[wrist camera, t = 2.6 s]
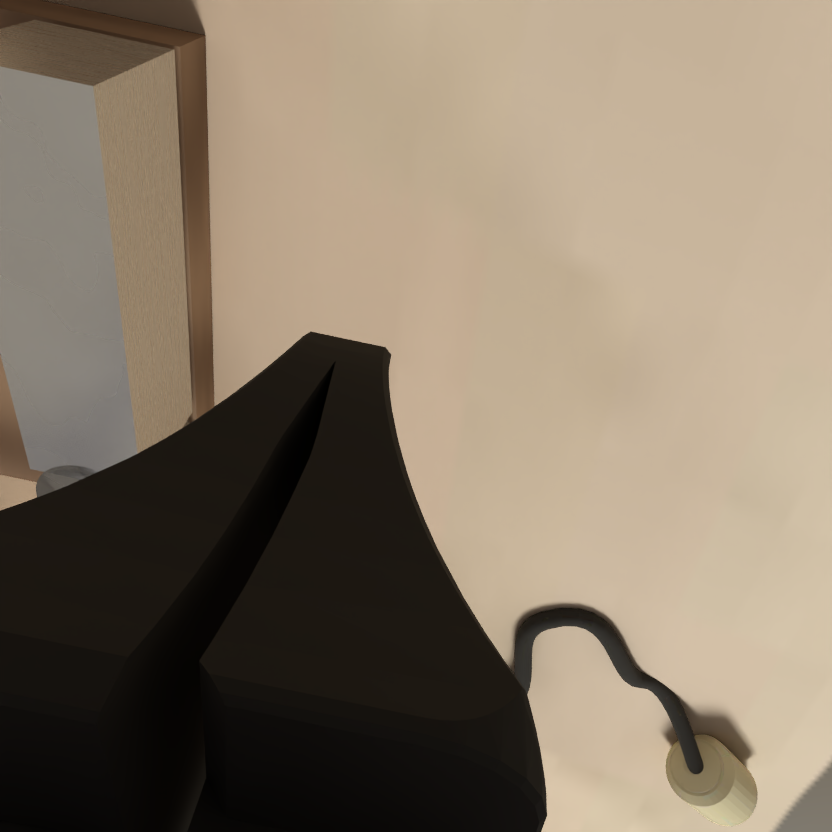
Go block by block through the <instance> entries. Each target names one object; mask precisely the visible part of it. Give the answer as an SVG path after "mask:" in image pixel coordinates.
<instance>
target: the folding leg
mask: <svg viewBox="0 0 832 832" xmlns="http://www.w3.org/2000/svg"><path fill="white" fill-rule="evenodd" d="M0 355H1V359H2V363H3V367H4V370H5V374H6V378H7V382H8V386H9V390H10V394H11V397H12V401H13V405H14V409H15V413H16V417H17V420H18V424H19V428H20V432H21V436H22V440H23V443H24V447H25V451H26V455H27V459H28V463H29V467H30V469H33V470H38V471H42V472H43V473H42V475H41V476H40V477H39V479H38V481H37V485H36V492H37V497H40V496H42V495H45V494H48V493H50V492H53V491H55V490H58V489H60V488H63V487H65V486H68V485H70V484H72V483H74V482H77V481H79V480H81V479H83V478H86V477H88V476H90V475H92V474H94V473H97V472H99V471H101V470H103V469H106V468H108V467H110V466H112V465H114V464H117V463H119V462H121V461H123V460H126V459H128V458H130V457H132V456H134V455H136V454H138V453H139V452H141V451H143V450H145V449H147V448H149V447H150V446H152V445H154V444H156V443H158V442H160V441H161V440H163V439H165V438H166V437H168V436H170V435H172V434H173V433H175V432H176V431H178V430H180V429H181V428H183V427H185V426H186V425H188V424H189V423H190V422H189V421H188V418H189V417H190V415H191V414H192V392H191V372H190V352H189V332H188V312H187V292H186V271H185V251H184V231H183V211H182V191H181V171H180V151H179V131H178V110H177V90H176V70H175V50H174V49H170V48H166V47H161V46H156V45H152V44H147V43H142V42H138V41H133V40H128V39H124V38H119V37H114V36H110V35H105V34H100V33H96V32H91V31H86V30H82V29H77V28H72V27H67V26H63V25H58V24H53V23H49V22H44V21H39V20H32V21H29V22H25V23H21V24H17V25H13V26H9V27H6V28H2V29H0Z"/></svg>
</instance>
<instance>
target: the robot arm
mask: <svg viewBox="0 0 832 832" xmlns="http://www.w3.org/2000/svg"><path fill="white" fill-rule="evenodd" d="M390 358H391V354H390V353H389V352H388V350H387V349H386V347H381V346H377V345H372V344H367V343H362V342H357V341H353V340H348V339H343V338H338V337H334V336H329V335H324V334H319V333H315V332H310V333H308V334H306V335H305V336H303V337H302V338H301V339H300V340H299V341H297V342H296V343H295V344H294V345H293V346H292V347H291V348H289V349H288V350H287V351H286V352H285V353H284V354H283V355H281V356H280V357H279V358H278V359H277V360H275V361H274V362H273V363H272V364H271V365H269V366H268V367H267V368H266V369H265V370H263V371H262V372H261V373H259V374H258V375H257V376H256V377H254V378H253V379H252V380H250V381H249V382H248V383H246V384H245V385H244V386H243V387H241V388H240V389H239V390H237V391H236V392H235V393H233V394H232V395H231V396H229V397H228V398H227V399H225V400H224V401H222V402H221V403H219V404H218V405H216V406H215V407H213V408H212V409H210V410H209V411H207V412H206V413H204V414H203V415H201V416H200V417H198V418H197V419H196V420H194V421H193V422H191V423H189V424H188V425H186V426H185V427H183V428H181V429H180V430H178V431H176V432H175V433H173V434H172V435H170V436H168V437H166V438H165V439H163V440H161V441H160V442H158V443H156V444H154V445H152V446H150V447H149V448H147V449H145V450H143V451H141V452H139V453H138V454H136V455H134V456H132V457H130V458H128V459H126V460H123V461H121V462H119V463H117V464H114V465H112V466H110V467H108V468H106V469H103V470H101V471H99V472H97V473H94V474H92V475H90V476H88V477H86V478H83V479H81V480H79V481H77V482H74V483H72V484H70V485H68V486H65V487H63V488H60V489H58V490H55V491H53V492H50V493H48V494H45V495H42V496H40V497H37V498H35V499H32V500H29V501H27V502H24V503H21V504H18V505H15V506H13V507H10V508H7V509H4V510H1V511H0V832H541V830H542V827H543V825H544V822H545V819H546V817H547V808H546V787H545V778H544V771H543V765H542V758H541V752H540V747H539V742H538V737H537V732H536V728H535V724H534V720H533V716H532V712H531V708H530V704H529V700H528V696H527V693H526V690H525V689H524V687H523V686H522V685H521V683H520V682H519V680H518V679H517V678H516V676H515V675H514V674H513V672H512V671H511V669H510V668H509V667H508V665H507V664H506V662H505V661H504V660H503V658H502V657H501V655H500V654H499V652H498V651H497V649H496V648H495V646H494V645H493V643H492V642H491V640H490V639H489V638H488V636H487V635H486V633H485V632H484V630H483V628H482V627H481V625H480V623H479V622H478V620H477V619H476V617H475V615H474V614H473V612H472V610H471V609H470V607H469V606H468V604H467V602H466V601H465V599H464V598H463V596H462V594H461V592H460V590H459V588H458V586H457V584H456V582H455V581H454V579H453V577H452V575H451V573H450V571H449V569H448V567H447V566H446V564H445V562H444V560H443V558H442V556H441V554H440V552H439V551H438V549H437V547H436V545H435V542H434V540H433V538H432V536H431V533H430V531H429V529H428V527H427V524H426V522H425V520H424V517H423V515H422V512H421V510H420V507H419V505H418V502H417V500H416V497H415V494H414V492H413V489H412V486H411V483H410V480H409V477H408V474H407V471H406V467H405V464H404V460H403V457H402V453H401V450H400V446H399V442H398V438H397V433H396V428H395V423H394V418H393V413H392V407H391V400H390V391H389V364H390Z"/></svg>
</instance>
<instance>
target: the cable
mask: <svg viewBox="0 0 832 832" xmlns="http://www.w3.org/2000/svg"><path fill="white" fill-rule="evenodd" d="M562 626H577V627H580V628H584V629H586V630H588V631H589V632H591V633H593V634H594V635H595V636H596V637H597V638H598V639H599V641H600V642H601V644H602V645H603V646H604V648H605V650H606V652H607V653H608V655H609V657H610V659H611V661H612V663H613V665H614V667H615V668H616V670H617V672H618V673H619V675H620V676H621V677H622V679H623V680H624V681H625V682H627V683H628V684H630V685H631V686H633V687H638V688H644V689H648V690H650V691H652V692H653V693H654V694H655V695H656V696H657V697H658V699H659V700H660V702H661V703H662V704H663V706H664V708H665V710H666V712H667V713H668V716H669V718H670V720H671V722H672V724H673V727H674V730H675V732H676V735H677V737H678V741H676V742H675V743H674V745H673V746H672V747H671V749H670V751H669V753H668V756H667V759H666V774H667V778H668V781H669V783H670V785H671V787H672V789H673V790H674V792H675V793H676V794H677V795H678V796H679V797H680V798H681V799H682V800H684V801H685V802H686V803H687V804H689V805H690V806H691V807H692V808H694V809H695V810H696V811H698V812H699V813H700V814H701V815H703V816H704V817H705V818H706V819H708V820H709V821H711V822H713V823H715V824H717V825H721V826H735V825H739V824H741V823H743V822H744V821H746V820H747V819H748V818H749V817H750V816H751V814H752V813H753V811H754V809H755V807H756V803H757V787H756V784H755V781H754V778H753V777H752V775H751V773H750V772H749V770H748V769H747V768H746V767H745V766H744V765H743V764H742V763H741V762H740V761H739V760H738V759H737V758H736V757H735V756H734V755H733V754H732V753H731V752H730V751H729V750H728V749H727V748H726V747H725V746H724V745H723V744H722V743H721V742H719V741H718V740H717V739H715V738H713V737H712V736H709V735H706V734H703V735H694V734H693V731H692V728H691V726H690V723H689V721H688V718H687V716H686V714H685V712H684V709H683V707H682V705H681V704H680V702H679V700H678V698H677V697H676V695H675V694H674V693H673V692H672V691H671V690H670V689H669V688H667V687H666V686H665V685H664V684H662V683H661V682H659V681H658V680H656V679H654V678H652V677H650V676H648V675H646V674H644V673H642V672H640V671H638V670H637V669H636V668H635V667H634V665H633V664H632V662H631V660H630V658H629V656H628V654H627V652H626V650H625V648H624V646H623V644H622V643H621V641H620V639H619V637H618V636H617V634H616V633H615V631H614V630H613V629H612V628H611V627H610V626H609V624H608V623H607V622H606V621H605V620H604V619H602V618H600V617H599V616H597V615H596V614H594V613H592V612H588V611H585V610H582V609H574V608H560V609H554V610H549V611H544V612H540V613H538V614H536V615H533V616H531V617H530V618H529V619H528V620H527V621H525V622H524V623H523V625H522V626H521V628H520V630H519V631H518V634H517V638H516V642H515V676H516V678H517V679H518V680H519V682H520V683H521V685H522V686H523V687H524V689H525V690H526V693H528V691H529V688H530V682H531V673H532V647H533V642H534V640H535V638H536V636H537V635H538V634H540V633H541V632H543V631H545V630H547V629H552V628H557V627H562Z"/></svg>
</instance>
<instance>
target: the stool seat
mask: <svg viewBox="0 0 832 832" xmlns="http://www.w3.org/2000/svg"><path fill="white" fill-rule="evenodd" d="M32 20H39V21H44V22H49V23H53V24H58V25H63V26H67V27H72V28H77V29H82V30H86V31H91V32H96V33H100V34H105V35H110V36H114V37H119V38H124V39H128V40H133V41H138V42H142V43H147V44H152V45H156V46H161V47H166V48H170V49H174V50H175V70H176V90H177V110H178V131H179V151H180V171H181V191H182V211H183V231H184V251H185V271H186V292H187V312H188V332H189V352H190V372H191V392H192V414H191V415H190V417H189V418H188V421H189V422H190V423H191V422H193V421H194V420H196V419H197V418H198V417H200V416H201V415H203V414H204V413H206V412H207V411H209V410H210V409H212V408H213V407H214V381H213V339H212V297H211V255H210V213H209V171H208V129H207V88H206V46H205V35H201V34H196V33H192V32H187V31H182V30H178V29H173V28H168V27H164V26H159V25H154V24H150V23H145V22H140V21H136V20H131V19H126V18H122V17H117V16H112V15H107V14H103V13H98V12H93V11H89V10H84V9H79V8H75V7H70V6H65V5H61V4H56V3H51V2H47V1H42V0H0V29H2V28H6V27H9V26H13V25H17V24H21V23H25V22H29V21H32ZM42 473H43V472H42V471H38V470H33V469H30V467H29V463H28V459H27V455H26V451H25V447H24V443H23V440H22V436H21V432H20V428H19V424H18V420H17V417H16V413H15V409H14V405H13V401H12V397H11V394H10V390H9V386H8V382H7V378H6V374H5V370H4V367H3V363H2V359H1V355H0V475H5V476H10V477H15V478H20V479H24V480H29V481H34V482H37V481H38V479H39V477H40V476H41V475H42Z"/></svg>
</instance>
